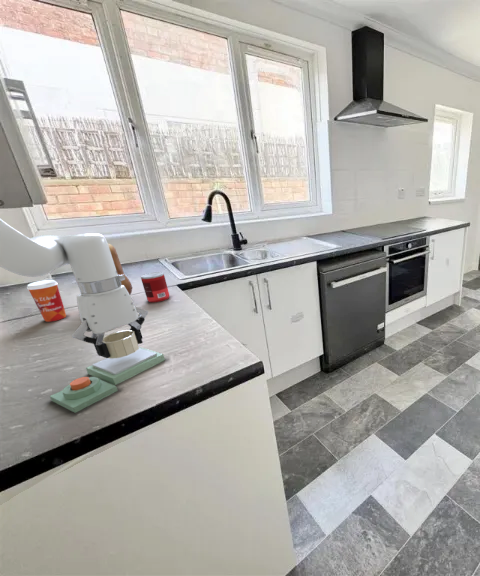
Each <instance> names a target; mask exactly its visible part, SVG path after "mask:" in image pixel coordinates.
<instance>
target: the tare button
mask: <svg viewBox="0 0 480 576" xmlns="http://www.w3.org/2000/svg"><path fill="white" fill-rule="evenodd" d="M69 384H70V386H71V388H72V390H73V391H74V390H80V389H83V388H85V387H87V386H89V385H90V384H91V382H90V379H89V376H83V377H82V376H81V377H78V378H75V379H74V380H72V381H71V382H70V383H69Z"/></svg>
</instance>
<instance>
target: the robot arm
mask: <svg viewBox="0 0 480 576" xmlns="http://www.w3.org/2000/svg"><path fill="white" fill-rule="evenodd" d="M67 265H70V269H71V270H72V274H73V276H74V278H75V281H76V284H77V286H78V290H79V292H80V293H79V294H77V295H76V304H77V310H78V316H79V318H80V322H81V323H80V325H79V326H78V328H76V330H75V331H74V332H73V334H72V335H71V338H73V339H76V340H80V341H83V342H86V343H88V344H92V345H93V346H94V349H95V351H96V354H97V355H98V356H99V357H102V358H104V359H106V358H109V357H110V354H109V351H108V348H107V345H106V343H103V338H104V337H105V333H108V332H111V331H113V330H116V329H118V328H122V327H124V326H129V327H130V328H129V330H132V331H135V334H136V337H137V341H138V344H139V345H141V344H143V343H144V342H143V335H142V331H141V329H142V326H143V323H144V322H145V320H146V317H147V315H148V314H149V310H147V309H145V308H142V307H138V306H135V305H136V304H135V303H134V300H133V298H132V297H131V294H129V293H128V291H127V289H126V288H125V286H123V285H121V284H122V283H121V281H122V280H125V276H126V275H125V276H124V275H118V274H117V271H116V268H115V265H114V262H113V258H112V255H111V252H110V249H109V246H108V240H107V238H106V237H105V235H103V234H101V233H95V232H88V233H87V232H86V233H77V234H71V235H53V234H51V235H50V234H49V235H48V234H45V235H44V234H43V235H36V236H33V237H29V236H27V235H25V234H23V233H22V232H20V231H18V230H17V229H16V228H14V227H12V226H11V225H9V223H7V222H5V221H4V220H3V219H2V218H0V268H2V269H4V270H5V271H8V272H10V273H13V274H16V275H19V276H22V277H28V278H29V277H30V278H36V277H42V276H46V275H48V274H50V273H52V272H53V271H55V270H57V269H58V268H61V267H64V266H67ZM86 332H87V333H89V332H91V336H87V335H86V334H85V333H86Z"/></svg>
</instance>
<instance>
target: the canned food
mask: <svg viewBox="0 0 480 576" xmlns="http://www.w3.org/2000/svg"><path fill="white" fill-rule="evenodd" d="M140 279H141V283H142V286H143V290H144V293H145V296H146V300H147V302H149V303H159V302H163V301H167V300H168V299H170V292H169V287H168V283H167V281H166V276H165V273H164V272H163V271H153V272H148V273H144V274H142V275H141V276H140Z"/></svg>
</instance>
